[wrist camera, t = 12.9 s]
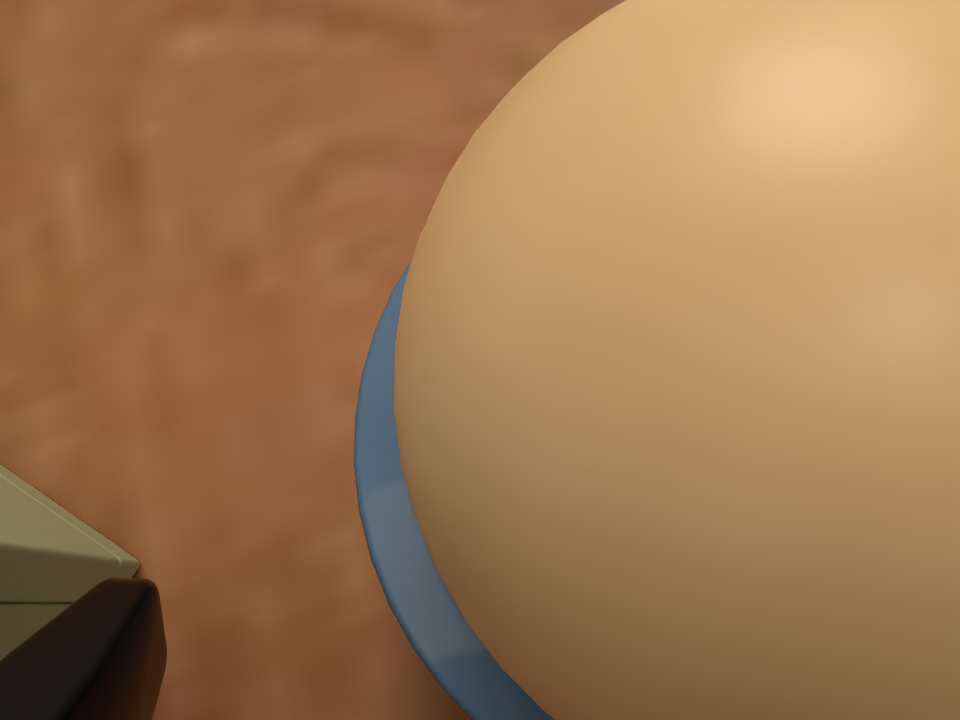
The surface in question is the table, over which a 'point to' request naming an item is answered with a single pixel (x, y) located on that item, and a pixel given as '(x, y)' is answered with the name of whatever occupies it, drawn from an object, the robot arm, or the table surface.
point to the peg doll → (686, 376)
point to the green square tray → (46, 560)
